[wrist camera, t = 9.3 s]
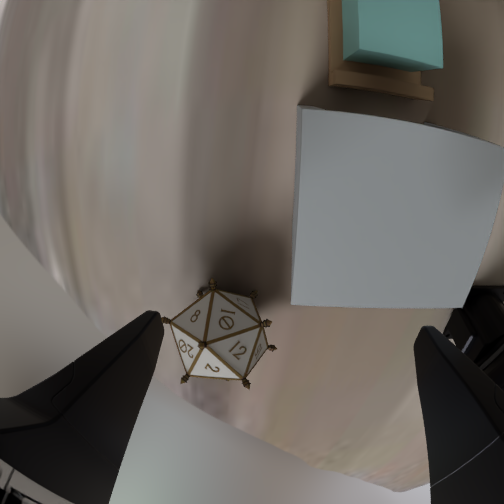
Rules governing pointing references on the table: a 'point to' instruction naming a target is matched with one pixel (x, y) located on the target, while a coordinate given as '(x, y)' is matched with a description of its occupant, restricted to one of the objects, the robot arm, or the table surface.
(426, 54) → the block
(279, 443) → the table surface
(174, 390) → the table surface
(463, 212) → the tunnel
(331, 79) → the tan plank with cube
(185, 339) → the game die
